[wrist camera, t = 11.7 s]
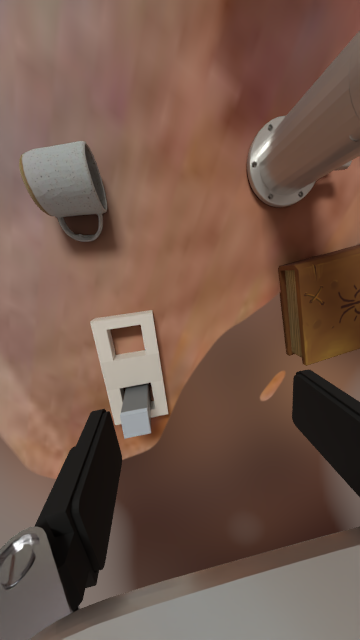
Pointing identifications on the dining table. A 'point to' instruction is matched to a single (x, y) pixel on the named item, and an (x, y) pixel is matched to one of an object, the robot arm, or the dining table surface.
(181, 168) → the dining table surface
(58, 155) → the ceramic mug
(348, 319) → the diary
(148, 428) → the plug
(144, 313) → the jack panel
